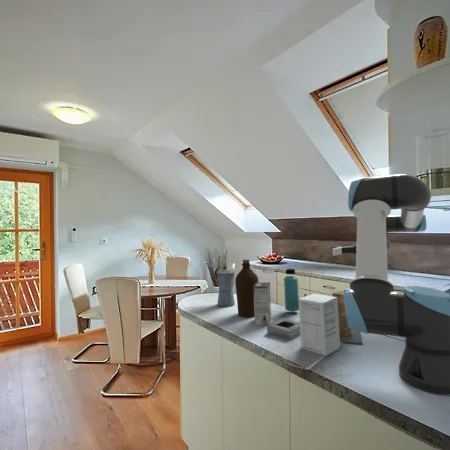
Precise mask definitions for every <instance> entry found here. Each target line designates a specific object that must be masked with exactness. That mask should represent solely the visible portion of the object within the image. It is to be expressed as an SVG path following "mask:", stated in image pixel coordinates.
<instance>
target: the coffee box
mask: <svg viewBox="0 0 450 450" xmlns="http://www.w3.org/2000/svg"><path fill="white" fill-rule="evenodd" d="M253 295H254V316H255V317H254V325H255V326H267V325H269V324H271V322H272V302H271V283H270V282H269V281H268V282H259V283H255V285H254V287H253Z"/></svg>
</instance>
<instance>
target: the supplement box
mask: <svg viewBox="0 0 450 450" xmlns="http://www.w3.org/2000/svg"><path fill="white" fill-rule="evenodd" d="M298 315H299V317H298V318H299V322H300V336H299V337H300V348H301V349H304V350H306V351H309V352H312V353H316V354H319V355H322V356H323V357H328V356H329V355H331V354H332V353H334V352H336V351H337V350H340V349H341V342H340V335H339V317H338V299H337V297H333V295H332V296H331V295H324V294H318V293H312V294H308V295H305V296H304V297H303V296H302V297H300V298H299V310H298Z"/></svg>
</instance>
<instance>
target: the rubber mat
mask: <svg viewBox="0 0 450 450" xmlns="http://www.w3.org/2000/svg"><path fill="white" fill-rule="evenodd" d="M361 333H362V332H357V331H353V330H351V334H350V335H349V336H347V337H343V336H340V343H341V344H349V345H360V344H361V345H363V339H362V334H361Z"/></svg>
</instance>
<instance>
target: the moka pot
mask: <svg viewBox="0 0 450 450" xmlns="http://www.w3.org/2000/svg"><path fill="white" fill-rule="evenodd" d="M223 268H224V269H220V268H218V267H217V268H216V270H215V272H214V274H215V275H214V276H215V280H216V284H217V285H216V286H218V296H217V306H219V307H222V306H230V307H233V306H235V304H236V303H235V297H234V291H233V289H234V284H235V275H236V272H235V270H233V269H227V268H228V267H227V266H226V265H225V266H223ZM232 305H233V306H232Z"/></svg>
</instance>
